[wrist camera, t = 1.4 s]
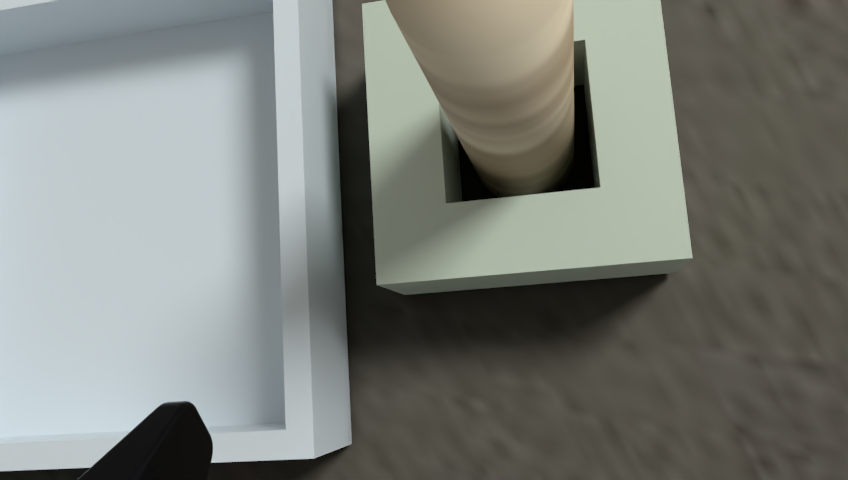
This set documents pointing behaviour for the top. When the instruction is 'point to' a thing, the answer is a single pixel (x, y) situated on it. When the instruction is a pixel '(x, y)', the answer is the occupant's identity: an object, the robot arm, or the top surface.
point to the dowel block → (538, 213)
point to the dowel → (501, 84)
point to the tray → (170, 227)
